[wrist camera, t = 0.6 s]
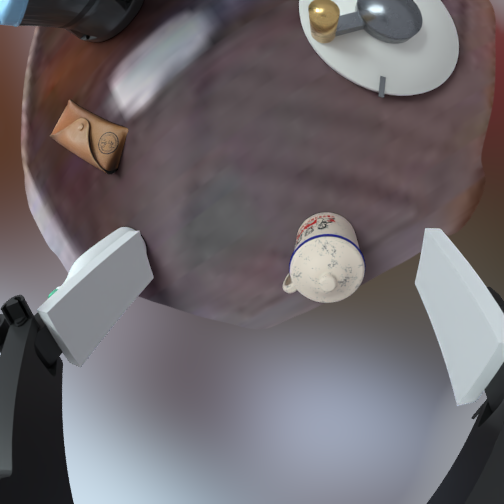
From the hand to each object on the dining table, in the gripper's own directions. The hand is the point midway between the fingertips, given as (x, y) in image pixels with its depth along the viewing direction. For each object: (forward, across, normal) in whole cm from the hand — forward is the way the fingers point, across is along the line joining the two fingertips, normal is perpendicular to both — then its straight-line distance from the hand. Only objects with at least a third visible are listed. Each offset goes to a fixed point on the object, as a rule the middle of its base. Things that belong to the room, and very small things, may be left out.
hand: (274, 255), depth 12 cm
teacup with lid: (+26, +2, -13) cm, 29 cm away
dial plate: (+26, +13, +20) cm, 35 cm away
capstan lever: (+25, +10, +19) cm, 32 cm away
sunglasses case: (+27, -35, +10) cm, 46 cm away
